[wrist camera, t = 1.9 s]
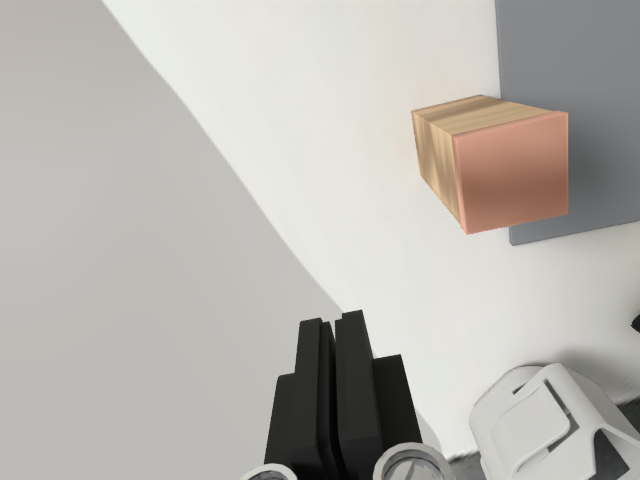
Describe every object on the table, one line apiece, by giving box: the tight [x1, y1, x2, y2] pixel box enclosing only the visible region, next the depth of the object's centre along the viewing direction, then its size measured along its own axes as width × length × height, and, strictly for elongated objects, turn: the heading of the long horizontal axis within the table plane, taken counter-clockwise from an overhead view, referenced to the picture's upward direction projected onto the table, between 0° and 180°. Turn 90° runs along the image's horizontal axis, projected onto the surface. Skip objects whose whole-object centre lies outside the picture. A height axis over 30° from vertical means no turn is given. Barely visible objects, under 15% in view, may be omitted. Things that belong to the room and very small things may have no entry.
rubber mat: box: [495, 0, 640, 246], centre depth 30 cm, size 20×12×1 cm, turn 13°
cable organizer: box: [469, 362, 640, 480], centre depth 35 cm, size 7×13×12 cm, turn 149°
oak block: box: [411, 95, 568, 235], centre depth 26 cm, size 5×5×12 cm
